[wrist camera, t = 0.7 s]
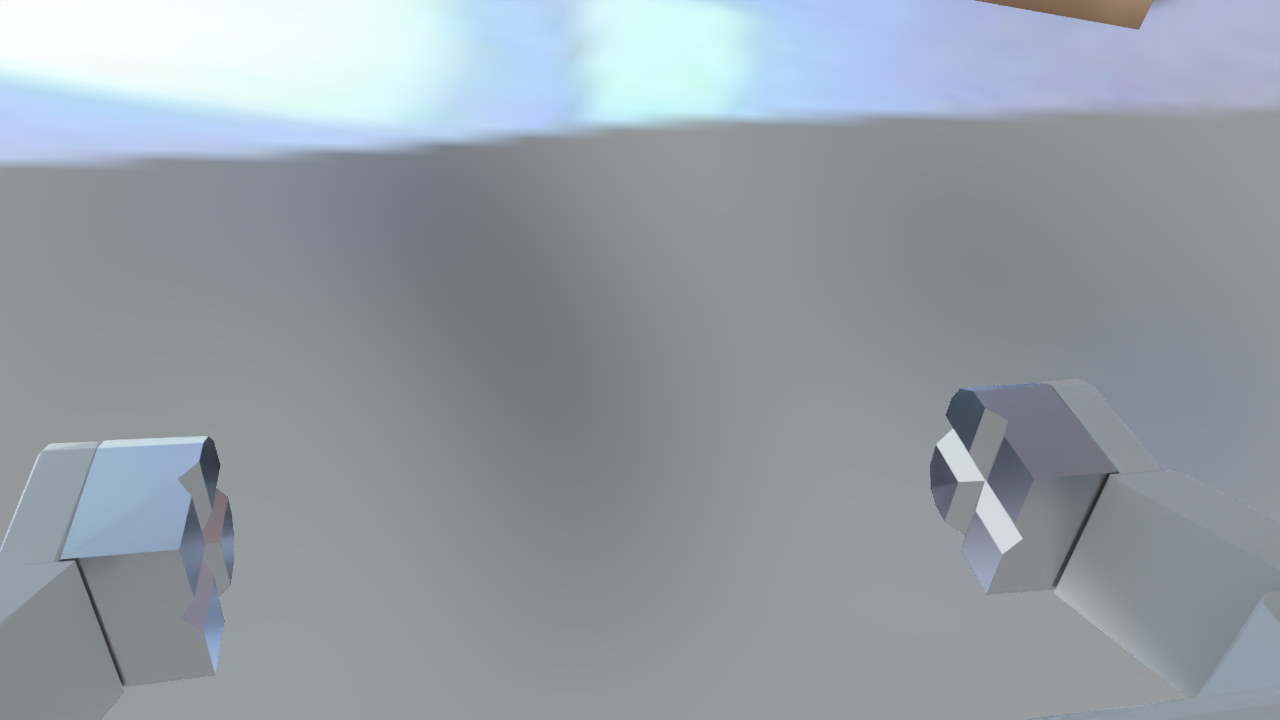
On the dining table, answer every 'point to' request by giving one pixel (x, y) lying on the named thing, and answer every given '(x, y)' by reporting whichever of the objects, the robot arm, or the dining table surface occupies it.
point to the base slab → (1088, 9)
